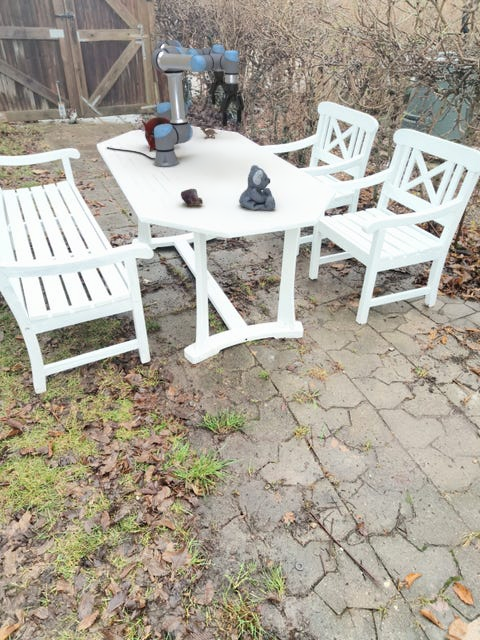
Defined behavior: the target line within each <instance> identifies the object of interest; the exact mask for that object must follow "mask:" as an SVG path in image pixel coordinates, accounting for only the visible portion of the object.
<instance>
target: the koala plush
mask: <svg viewBox="0 0 480 640" xmlns="http://www.w3.org/2000/svg"><path fill="white" fill-rule="evenodd" d="M270 183H271V178H269V176H268V175H267V173H266V172H265V170H264V169H263V168H261V167H259V165H257V164H253V165H250V170H249V173H248V176H247V188H246V189H245V190H244V191H243V192H242V193H241V194H240V197H239V199H238V203H239V204H240V206H241V207H242V208H246V209H247V210H252V211H255V210H261V211H272V210H274V209H275V208H276V200H275V198H274V196H273V194H272V191H271V188H270V187H268V186H269V185H270Z"/></svg>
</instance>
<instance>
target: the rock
mask: <svg viewBox="0 0 480 640" xmlns="http://www.w3.org/2000/svg"><path fill="white" fill-rule="evenodd" d="M180 197H181V200H182V201H183V202H184V203H185V205H187V206H189V207H191V206H192V207H193V206H201V205H203V204H204V202H203V199H202V197H199V195H198V190H197V189H196V188H188V189H185V190H181V192H180Z"/></svg>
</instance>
